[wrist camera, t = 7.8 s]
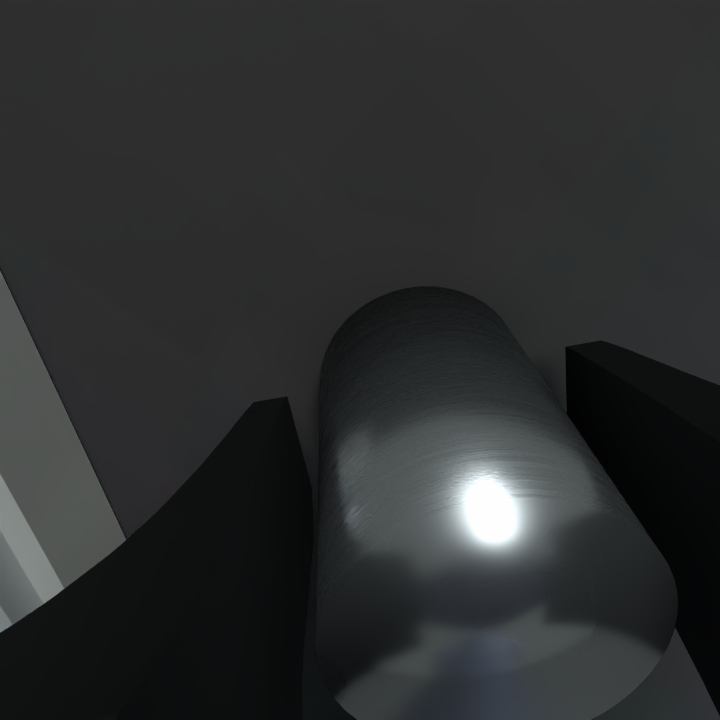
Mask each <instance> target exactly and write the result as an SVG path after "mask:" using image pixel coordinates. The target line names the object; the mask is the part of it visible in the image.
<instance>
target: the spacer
mask: <svg viewBox="0 0 720 720" xmlns="http://www.w3.org/2000/svg"><path fill="white" fill-rule="evenodd" d="M677 614H678V594H677V589H676V584H675V579H674V577H673V575H672V572H671V570H670V567H669V565H668V563H667V562H666V560H665V559H664V557H663V556H662V554H661V553H660V551H659V550H658V548H657V547H656V545H655V544H654V542H653V541H652V539H651V538H650V536H649V535H648V534H647V532H646V531H645V529H644V528H643V526H642V525H641V523H640V522H639V520H638V519H637V517H636V516H635V514H634V513H633V511H632V510H631V508H630V507H629V505H628V504H627V502H626V501H625V500H624V498H623V497H622V495H621V494H620V492H619V491H618V489H617V488H616V486H615V485H614V483H613V482H612V480H611V479H610V477H609V476H608V474H607V473H606V471H605V470H604V468H603V467H602V466H601V464H600V463H599V461H598V460H597V458H596V457H595V455H594V454H593V452H592V451H591V449H590V448H589V446H588V445H587V443H586V442H585V440H584V439H583V437H582V436H581V434H580V433H579V432H578V430H577V429H576V427H575V426H574V424H573V423H572V421H571V420H570V418H569V417H568V415H567V414H566V412H565V411H564V409H563V408H562V406H561V405H560V403H559V402H558V400H557V399H556V398H555V396H554V395H553V393H552V392H551V390H550V389H549V387H548V386H547V384H546V383H545V381H544V380H543V378H542V377H541V375H540V374H539V372H538V371H537V369H536V368H535V366H534V365H533V364H532V362H531V361H530V359H529V358H528V356H527V355H526V353H525V352H524V350H523V349H522V347H521V346H520V344H519V343H518V341H517V340H516V338H515V337H514V335H513V334H512V332H511V331H510V330H509V328H508V327H507V325H506V324H505V322H504V321H503V320H502V318H501V317H500V316H499V315H498V314H497V313H496V312H495V311H494V310H493V309H491V308H490V307H489V306H488V305H486V304H485V303H483V302H482V301H480V300H478V299H477V298H475V297H473V296H471V295H468V294H466V293H463V292H461V291H457V290H453V289H449V288H442V287H434V286H420V287H412V288H405V289H401V290H397V291H393V292H391V293H388V294H385V295H383V296H380V297H378V298H376V299H374V300H372V301H371V302H369V303H367V304H366V305H364V306H363V307H361V308H360V309H358V310H357V311H356V312H355V313H354V314H352V315H351V316H350V317H349V318H348V319H347V320H346V321H345V322H344V323H343V325H342V326H341V327H340V328H339V329H338V331H337V332H336V334H335V335H334V337H333V338H332V340H331V342H330V344H329V346H328V348H327V350H326V353H325V356H324V360H323V363H322V369H321V377H320V429H319V480H318V532H317V584H316V636H315V641H316V658H317V663H318V668H319V671H320V674H321V676H322V678H323V681H324V683H325V685H326V687H327V688H328V690H329V691H330V693H331V694H332V696H333V697H334V699H335V700H336V701H337V702H338V703H339V704H340V705H341V706H342V707H343V708H344V710H345V711H347V712H348V713H349V714H350V715H352V716H353V717H354V718H355V719H357V720H592V719H594V718H595V717H597V716H599V715H601V714H602V713H604V712H606V711H607V710H609V709H610V708H612V707H613V706H615V705H616V704H617V703H619V702H620V701H622V700H623V699H624V698H625V697H626V696H628V695H629V694H630V693H631V692H632V691H634V690H635V689H636V688H637V687H638V686H639V685H640V684H641V683H642V682H643V681H644V680H645V678H646V677H647V676H648V675H649V674H650V673H651V672H652V670H653V669H654V668H655V666H656V665H657V664H658V662H659V661H660V659H661V658H662V656H663V654H664V652H665V650H666V649H667V647H668V645H669V643H670V640H671V637H672V634H673V632H674V629H675V624H676V619H677Z"/></svg>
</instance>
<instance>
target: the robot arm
mask: <svg viewBox="0 0 720 720" xmlns="http://www.w3.org/2000/svg"><path fill="white" fill-rule="evenodd" d="M566 395H567V415H568V417H569V418H570V420H571V421H572V423H573V424H574V426H575V427H576V429H577V430H578V432H579V433H580V434H581V436H582V437H583V439H584V440H585V442H586V443H587V445H588V446H589V448H590V449H591V451H592V452H593V454H594V455H595V457H596V458H597V460H598V461H599V463H600V464H601V466H602V467H603V468H604V470H605V471H606V473H607V474H608V476H609V477H610V479H611V480H612V482H613V483H614V485H615V486H616V488H617V489H618V491H619V492H620V494H621V495H622V497H623V498H624V500H625V501H626V502H627V504H628V505H629V507H630V508H631V510H632V511H633V513H634V514H635V516H636V517H637V519H638V520H639V522H640V523H641V525H642V526H643V528H644V529H645V531H646V532H647V534H648V535H649V536H650V538H651V539H652V541H653V542H654V544H655V545H656V547H657V548H658V550H659V551H660V553H661V554H662V556H663V557H664V559H665V560H666V562H667V563H668V565H669V567H670V570H671V572H672V575H673V577H674V579H675V584H676V589H677V594H678V614H677V619H676V624H675V628H676V630H677V631H678V633H679V635H680V637H681V639H682V641H683V643H684V645H685V647H686V649H687V651H688V653H689V655H690V657H691V659H692V661H693V663H694V665H695V667H696V669H697V671H698V672H699V674H700V676H701V678H702V680H703V682H704V684H705V686H706V689H707V691H708V693H709V695H710V697H711V699H712V701H713V703H714V705H715V707H716V709H717V711H718V713H719V715H720V385H717V384H714V383H712V382H709V381H706V380H704V379H701V378H698V377H696V376H693V375H691V374H688V373H685V372H683V371H680V370H678V369H675V368H673V367H670V366H668V365H665V364H663V363H660V362H658V361H655V360H653V359H650V358H648V357H645V356H643V355H640V354H638V353H635V352H633V351H630V350H627V349H625V348H622V347H619V346H617V345H614V344H611V343H607V342H604V341H596V342H590V343H584V344H579V345H573V346H568V347H566ZM312 548H313V510H312V489H311V484H310V480H309V476H308V473H307V469H306V465H305V461H304V458H303V454H302V450H301V446H300V443H299V439H298V435H297V431H296V428H295V424H294V420H293V416H292V413H291V409H290V405H289V401H288V398H287V397H281V398H275V399H270V400H264V401H259V402H254V403H253V404H252V405H251V406H250V407H249V408H248V409H247V410H246V412H245V413H244V414H243V415H242V416H241V418H240V419H239V420H238V421H237V423H236V424H235V425H234V426H233V428H232V429H231V430H230V431H229V433H228V434H227V435H226V436H225V438H224V439H223V440H222V441H221V442H220V444H219V445H218V446H217V447H216V448H215V449H214V451H213V452H212V453H211V454H210V455H209V457H208V458H207V459H206V460H205V461H204V463H203V464H202V465H201V466H200V467H199V468H198V469H197V470H196V471H195V473H194V474H193V475H192V476H191V477H190V478H189V479H188V480H187V481H186V482H185V483H184V484H183V485H182V486H181V488H180V489H179V490H178V491H177V492H176V493H175V494H174V495H173V496H172V497H171V498H170V499H169V500H168V501H167V502H166V504H165V505H164V506H162V507H161V508H160V509H159V510H158V511H157V512H156V513H155V514H154V515H153V516H152V517H151V518H150V519H149V520H148V521H147V522H146V523H145V524H144V525H143V526H141V527H140V528H139V529H138V530H137V531H136V532H135V533H133V534H132V535H131V536H130V537H129V538H128V539H127V540H125V541H124V542H123V543H122V544H121V545H120V546H119V547H117V548H116V549H115V550H114V551H113V552H111V553H110V554H109V555H108V556H107V557H105V558H104V559H103V560H101V561H100V562H99V563H97V564H96V565H95V566H93V567H92V568H91V569H90V570H88V571H87V572H86V573H84V574H83V575H82V576H80V577H79V578H78V579H76V580H75V581H74V582H72V583H71V584H70V585H69V586H67V587H66V588H65V589H63V590H62V591H61V592H59V593H58V594H57V595H55V596H54V597H53V598H51V599H50V600H48V601H47V602H46V603H44V604H43V605H41V606H40V607H38V608H37V609H35V610H34V611H32V612H31V613H29V614H28V615H26V616H25V617H23V618H22V619H21V620H19V621H18V622H16V623H15V624H13V625H11V626H10V627H8V628H7V629H5V630H4V631H2V632H0V720H302V664H303V648H304V637H305V626H306V615H307V604H308V593H309V582H310V571H311V560H312Z"/></svg>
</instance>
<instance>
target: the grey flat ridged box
mask: <svg viewBox="0 0 720 720" xmlns="http://www.w3.org/2000/svg"><path fill="white" fill-rule="evenodd" d="M125 540H126V538H125V536H124V534H123V532H122V530H121V527H120V525H119V523H118V521H117V519H116V517H115V515H114V513H113V510H112V508H111V506H110V504H109V502H108V500H107V498H106V495H105V493H104V491H103V489H102V487H101V485H100V483H99V480H98V478H97V476H96V474H95V472H94V470H93V468H92V465H91V463H90V461H89V459H88V457H87V455H86V453H85V451H84V448H83V446H82V444H81V442H80V440H79V438H78V436H77V433H76V431H75V429H74V427H73V425H72V423H71V421H70V418H69V416H68V414H67V412H66V410H65V408H64V406H63V404H62V401H61V399H60V397H59V395H58V393H57V391H56V389H55V386H54V384H53V382H52V380H51V378H50V376H49V374H48V371H47V369H46V367H45V365H44V363H43V361H42V359H41V356H40V354H39V352H38V350H37V348H36V346H35V344H34V342H33V339H32V337H31V335H30V333H29V331H28V329H27V327H26V324H25V322H24V320H23V318H22V316H21V314H20V312H19V309H18V307H17V305H16V303H15V301H14V299H13V297H12V294H11V292H10V290H9V288H8V286H7V284H6V282H5V280H4V277H3V275H2V273H1V271H0V632H2V631H4V630H5V629H7V628H8V627H10V626H11V625H13V624H15V623H16V622H18V621H19V620H21V619H22V618H23V617H25V616H26V615H28V614H29V613H31V612H32V611H34V610H35V609H37V608H38V607H40V606H41V605H43V604H44V603H46V602H47V601H48V600H50V599H51V598H53V597H54V596H55V595H57V594H58V593H59V592H61V591H62V590H63V589H65V588H66V587H67V586H69V585H70V584H71V583H72V582H74V581H75V580H76V579H78V578H79V577H80V576H82V575H83V574H84V573H86V572H87V571H88V570H90V569H91V568H92V567H93V566H95V565H96V564H97V563H99V562H100V561H101V560H103V559H104V558H105V557H107V556H108V555H109V554H110V553H111V552H113V551H114V550H115V549H116V548H117V547H119V546H120V545H121V544H122V543H123V542H124V541H125Z"/></svg>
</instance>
